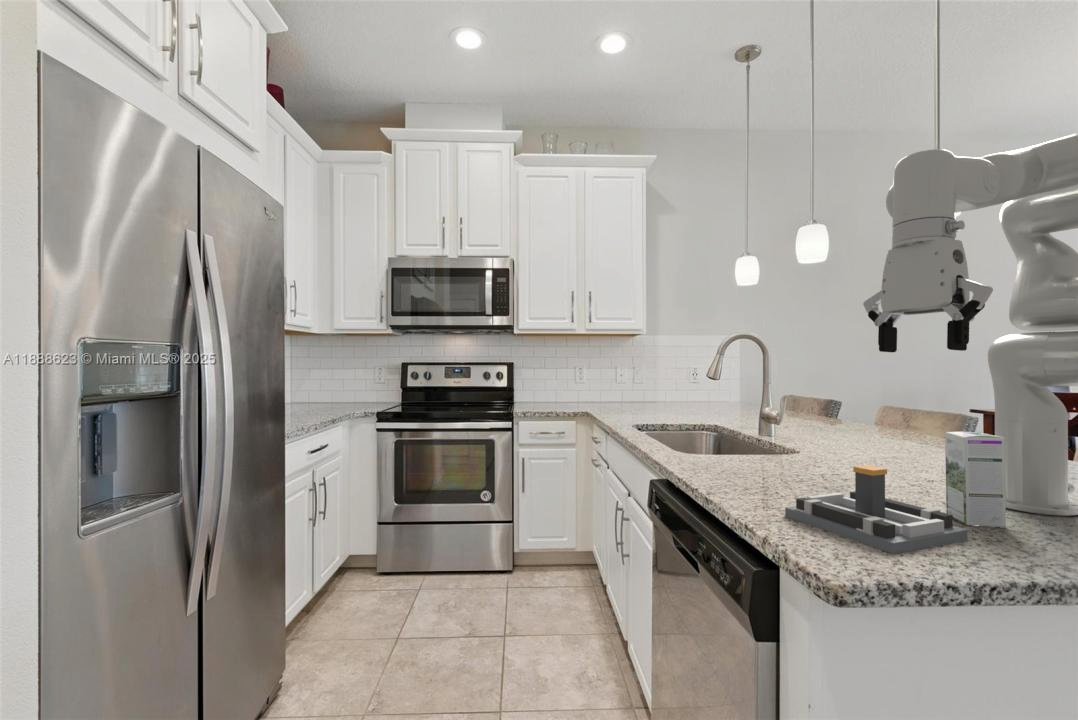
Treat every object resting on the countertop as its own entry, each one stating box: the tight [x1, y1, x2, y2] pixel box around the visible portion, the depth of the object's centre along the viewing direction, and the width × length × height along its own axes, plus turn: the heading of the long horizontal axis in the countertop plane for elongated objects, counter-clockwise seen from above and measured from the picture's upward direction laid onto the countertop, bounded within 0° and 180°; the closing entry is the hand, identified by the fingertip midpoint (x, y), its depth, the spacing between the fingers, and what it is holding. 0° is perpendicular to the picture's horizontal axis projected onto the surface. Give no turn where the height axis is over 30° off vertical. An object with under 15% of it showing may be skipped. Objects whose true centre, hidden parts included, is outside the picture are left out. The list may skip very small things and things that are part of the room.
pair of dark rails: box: [795, 491, 954, 539], centre depth 79 cm, size 15×15×2 cm
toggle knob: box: [852, 464, 888, 518], centre depth 79 cm, size 3×3×8 cm
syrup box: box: [944, 430, 1007, 529], centre depth 82 cm, size 6×6×14 cm
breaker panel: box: [784, 492, 969, 555], centre depth 79 cm, size 16×18×3 cm
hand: (920, 350), depth 75 cm, fingers open, 9 cm apart
